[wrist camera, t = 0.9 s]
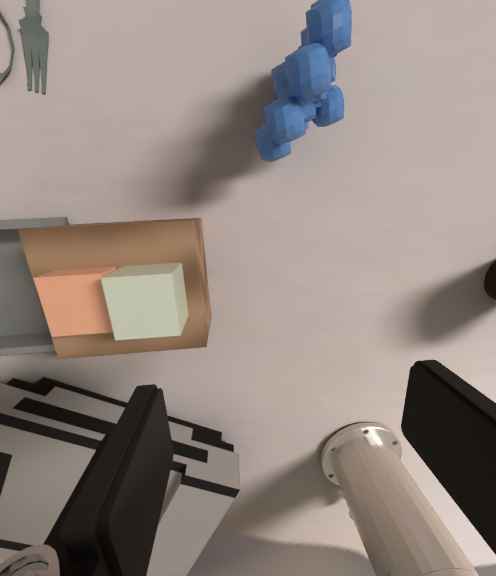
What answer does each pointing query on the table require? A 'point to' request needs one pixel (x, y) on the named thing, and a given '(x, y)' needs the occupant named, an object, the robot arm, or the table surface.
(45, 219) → the bin
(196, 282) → the brown box
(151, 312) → the sage block
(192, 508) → the game console
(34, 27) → the cutlery set
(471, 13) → the table surface
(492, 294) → the coffee mug
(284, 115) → the grapes
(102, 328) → the terracotta block
